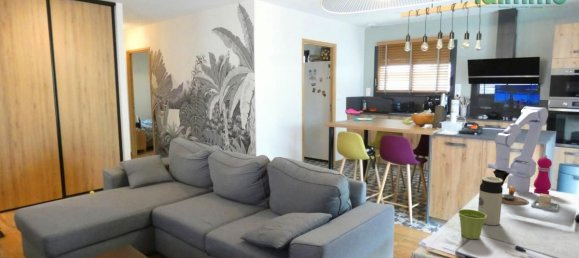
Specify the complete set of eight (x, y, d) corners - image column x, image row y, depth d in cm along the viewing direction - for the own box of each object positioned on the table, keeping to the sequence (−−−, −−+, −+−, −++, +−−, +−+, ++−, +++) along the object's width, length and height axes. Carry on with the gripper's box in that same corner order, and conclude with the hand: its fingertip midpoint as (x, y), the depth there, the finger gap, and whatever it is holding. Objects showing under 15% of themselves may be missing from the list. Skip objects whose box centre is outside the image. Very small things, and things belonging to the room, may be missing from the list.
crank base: (493, 194, 181) (493, 191, 181) (531, 202, 171) (531, 198, 170) (485, 203, 169) (485, 199, 169) (525, 211, 159) (526, 207, 158)
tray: (533, 204, 167) (534, 199, 167) (558, 209, 161) (559, 203, 161) (530, 209, 160) (531, 204, 160) (556, 215, 154) (557, 209, 154)
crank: (507, 194, 176) (507, 185, 176) (516, 196, 174) (517, 187, 173) (503, 198, 169) (503, 189, 169) (512, 200, 167) (513, 191, 166)
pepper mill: (529, 192, 185) (533, 154, 183) (538, 190, 188) (542, 152, 186) (544, 196, 179) (548, 156, 176) (553, 194, 182) (557, 155, 179)
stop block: (539, 206, 164) (540, 193, 163) (550, 208, 161) (551, 195, 160) (538, 208, 161) (539, 195, 160) (549, 210, 158) (550, 197, 157)
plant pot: (460, 228, 140) (461, 207, 138) (487, 235, 134) (489, 213, 133) (453, 236, 132) (454, 214, 131) (481, 244, 127) (483, 220, 125)
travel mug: (496, 219, 149) (500, 177, 147) (502, 227, 141) (506, 182, 139) (475, 217, 151) (478, 175, 149) (479, 224, 144) (483, 180, 141)
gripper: (483, 155, 180) (481, 182, 182) (509, 161, 167) (507, 190, 169) (494, 154, 183) (492, 181, 184) (521, 160, 169) (518, 189, 171)
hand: (500, 185), depth 177 cm, fingers closed
